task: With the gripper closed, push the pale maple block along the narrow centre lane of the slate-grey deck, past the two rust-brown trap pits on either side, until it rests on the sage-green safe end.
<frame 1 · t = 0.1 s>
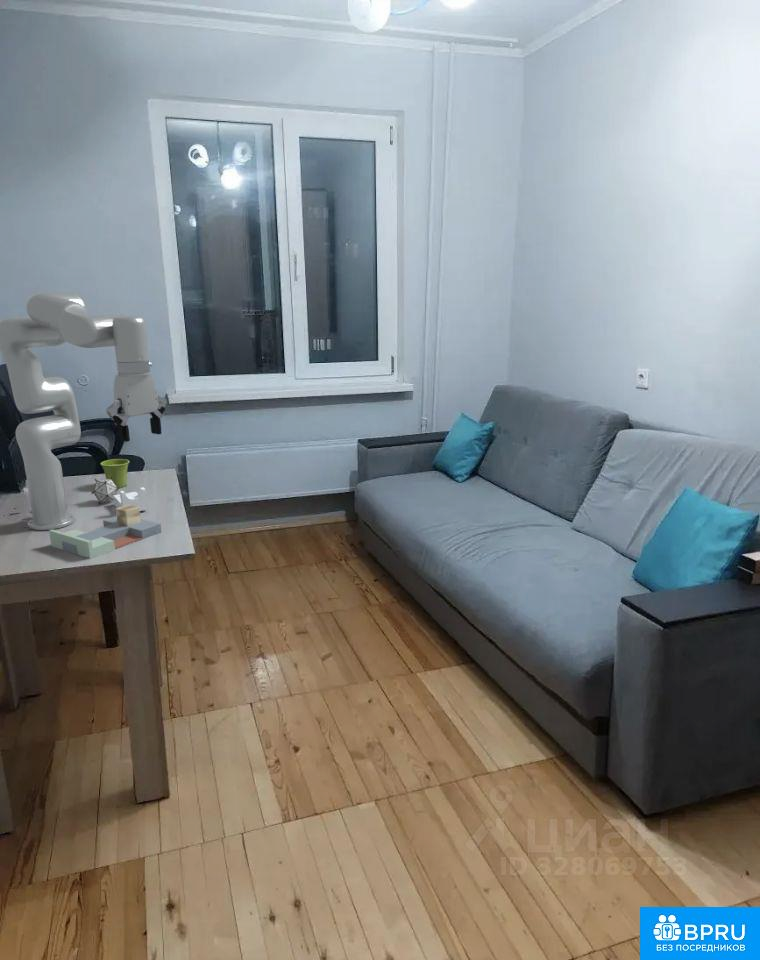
hand: (140, 437, 172), 31 cm above the table, tool pointing down, fingers open, 9 cm apart
bracket: (131, 509, 217), on the table
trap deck: (107, 538, 191), on the table
plant pot: (117, 486, 242), on the table
maple block: (129, 522, 196), point 2 cm above the table, touching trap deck
game die: (107, 502, 224), on the table
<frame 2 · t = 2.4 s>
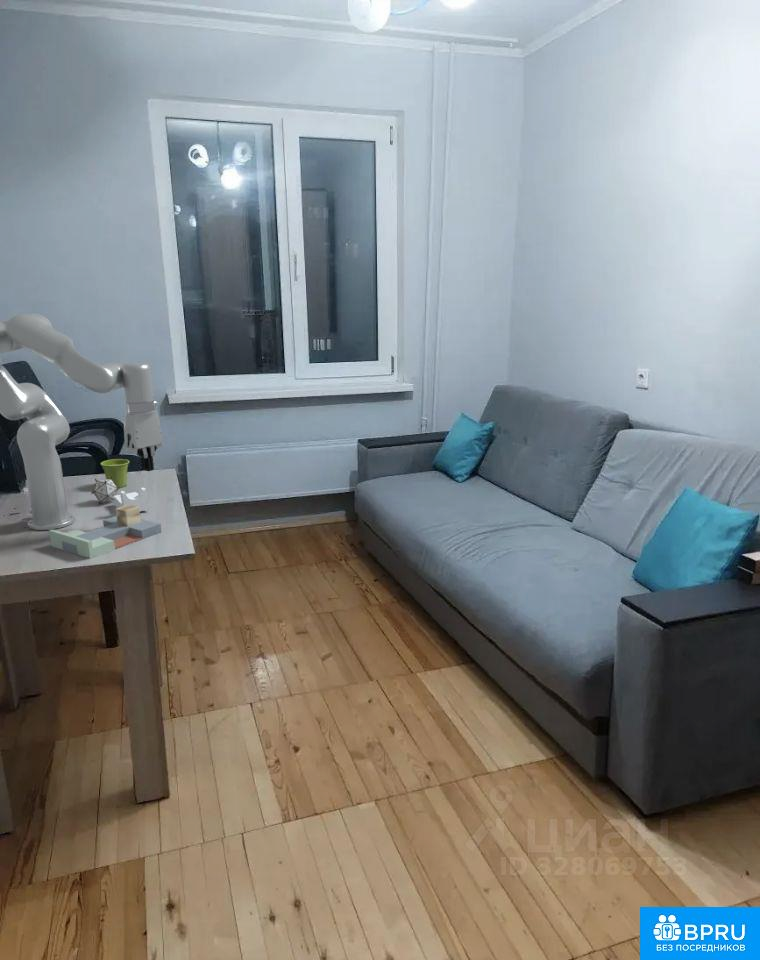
hand: (148, 470, 199), 16 cm above the table, tool pointing down, fingers closed
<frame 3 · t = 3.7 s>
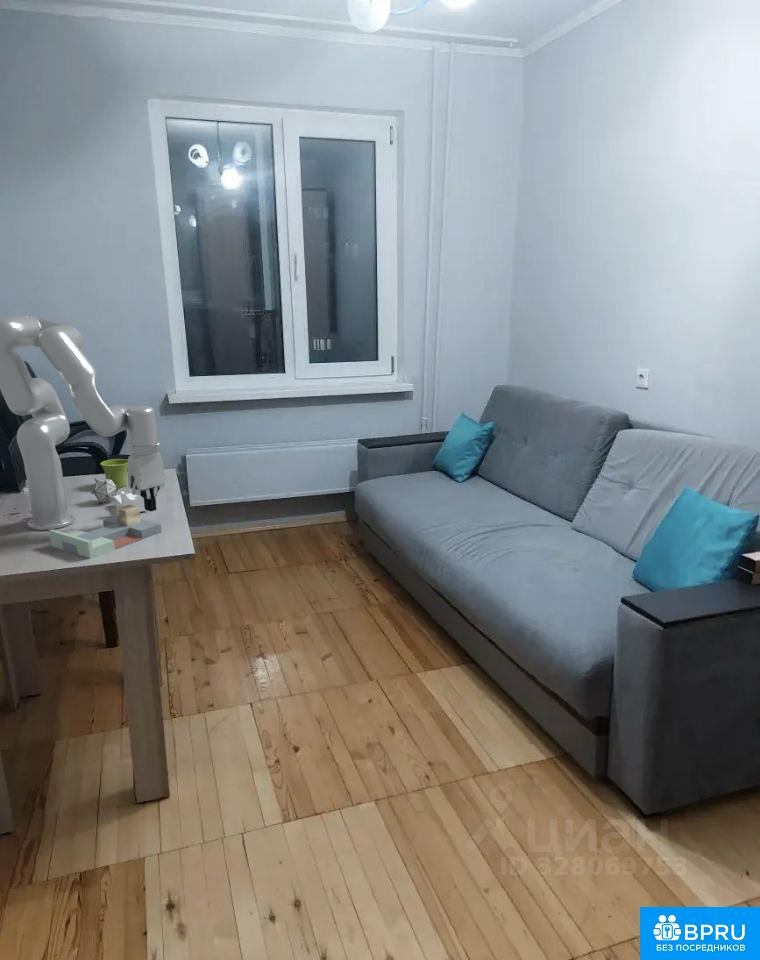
hand: (150, 510, 202), 4 cm above the table, tool pointing down, fingers closed
nothing on the table moved.
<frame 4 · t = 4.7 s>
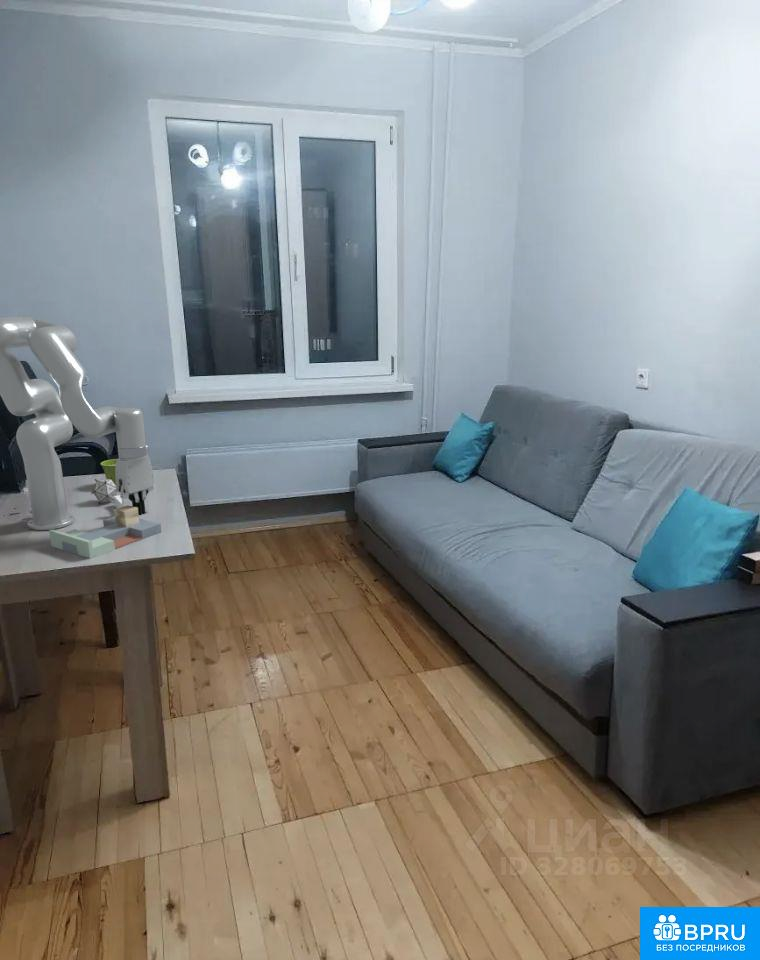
hand: (139, 513, 199), 4 cm above the table, tool pointing down, fingers closed
maple block: (127, 523, 196), point 3 cm above the table, touching gripper
everything else where it was.
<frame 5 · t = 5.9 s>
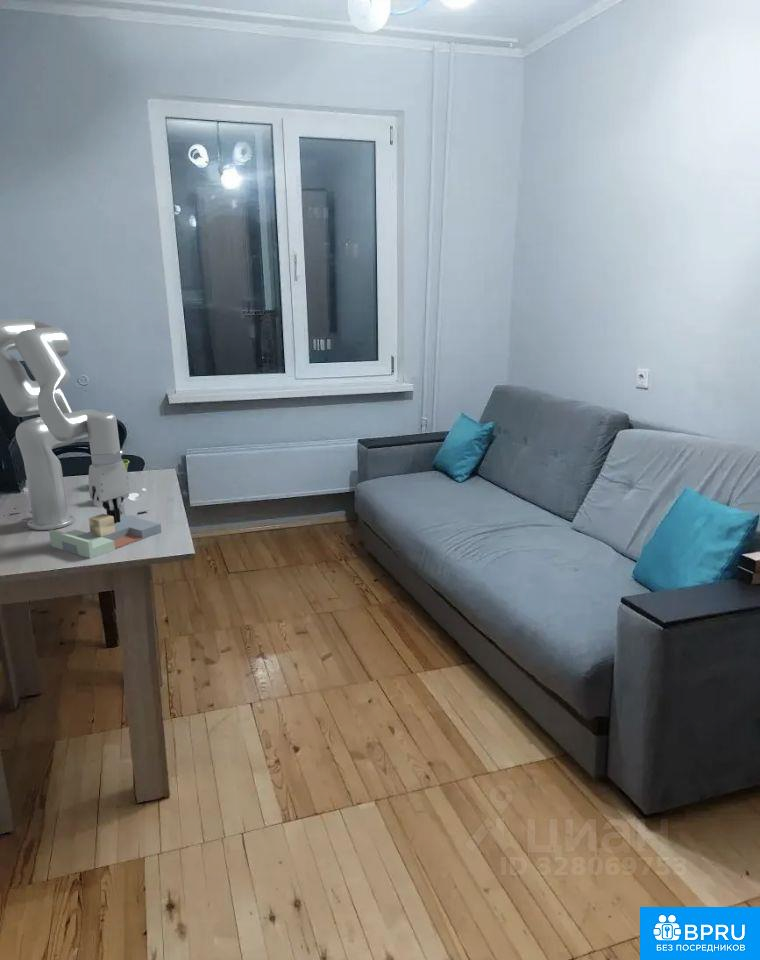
hand: (114, 521, 192), 4 cm above the table, tool pointing down, fingers closed
maple block: (103, 532, 188), point 3 cm above the table, touching gripper
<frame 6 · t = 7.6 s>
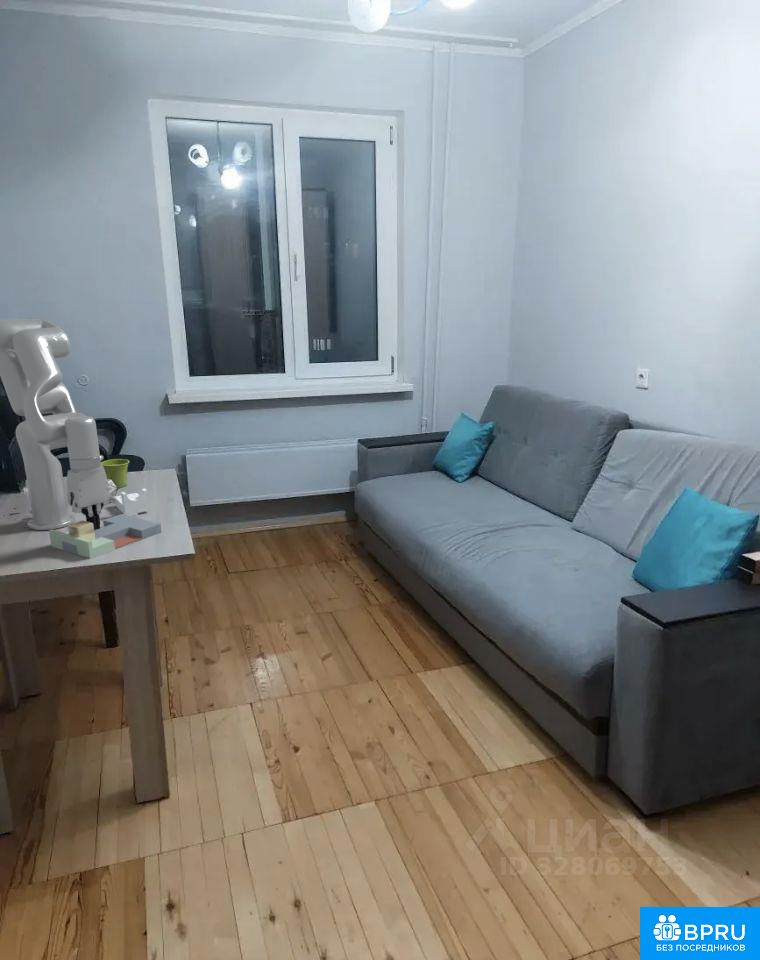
hand: (94, 528, 186), 4 cm above the table, tool pointing down, fingers closed
maple block: (82, 540, 183), point 3 cm above the table, touching gripper, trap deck
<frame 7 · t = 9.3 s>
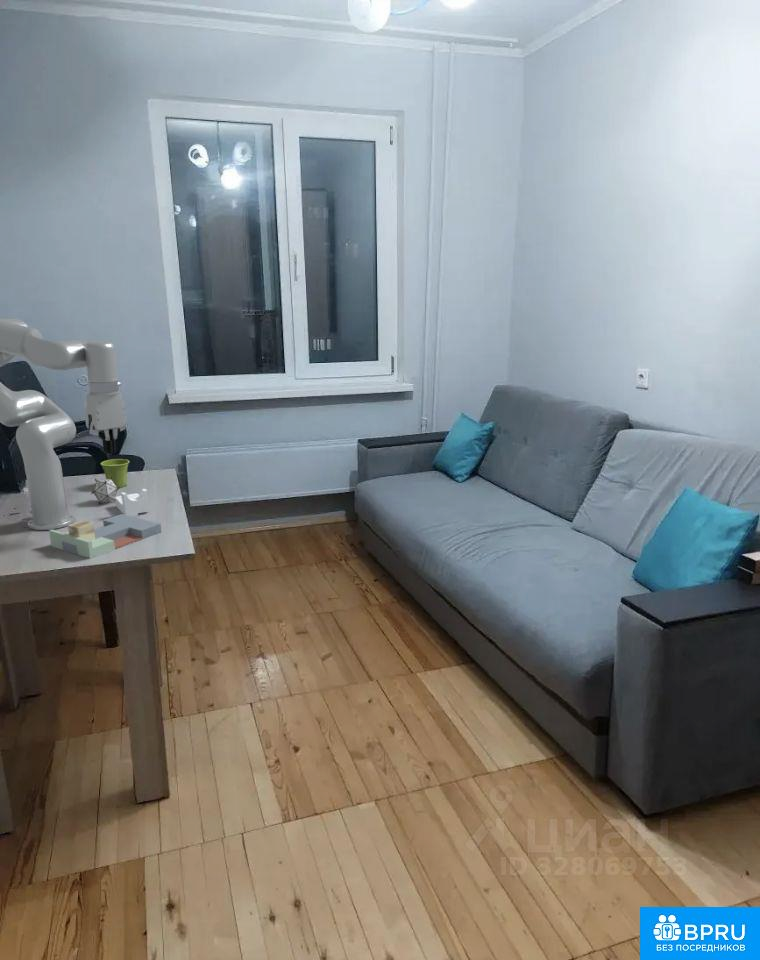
hand: (110, 453, 192), 23 cm above the table, tool pointing down, fingers closed
maple block: (82, 540, 183), point 2 cm above the table, touching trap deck
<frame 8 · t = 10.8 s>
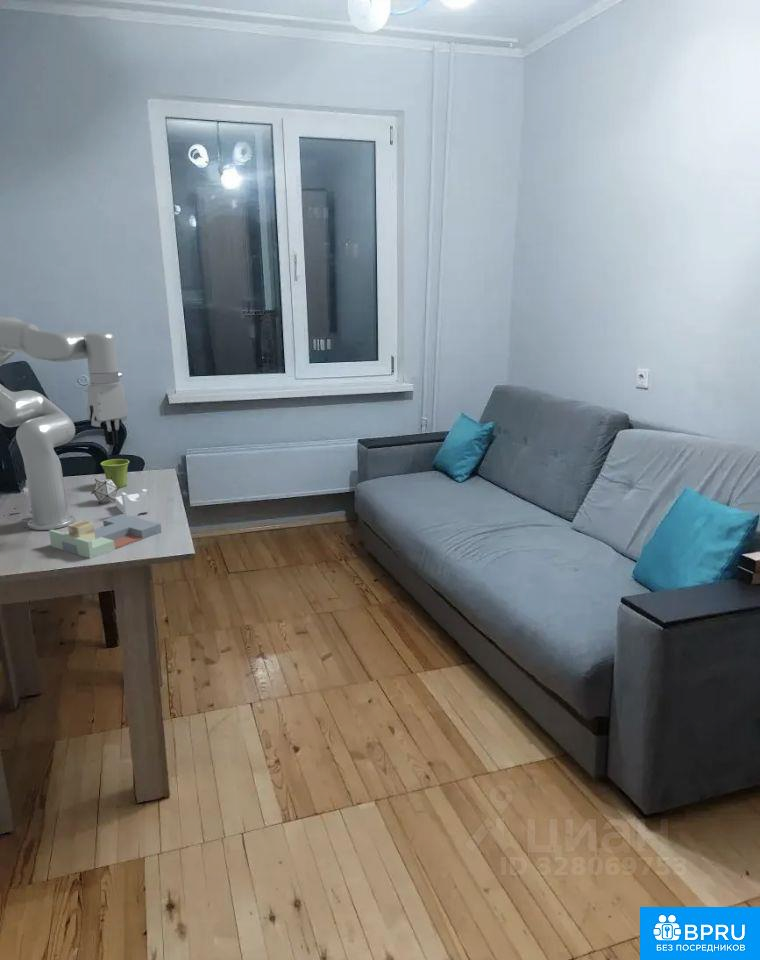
hand: (112, 444, 192), 25 cm above the table, tool pointing down, fingers closed
at the end: maple block 1.3 cm from the target spot on the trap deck, point 2.5 cm above the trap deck's base; maple block tilted 0° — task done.
